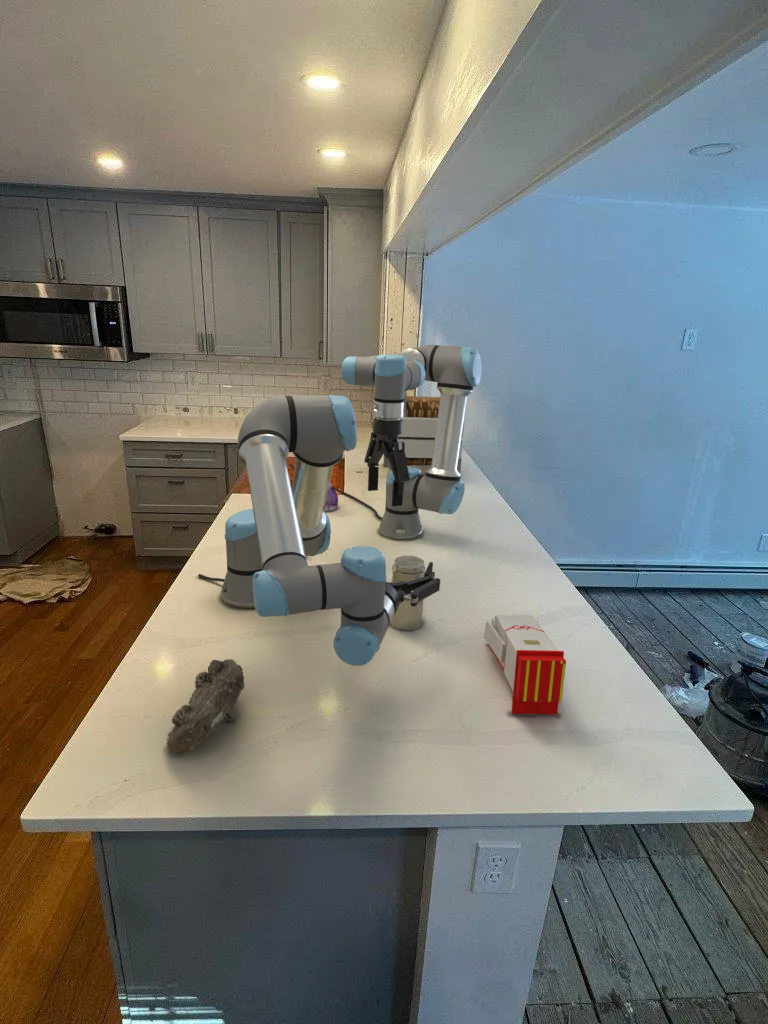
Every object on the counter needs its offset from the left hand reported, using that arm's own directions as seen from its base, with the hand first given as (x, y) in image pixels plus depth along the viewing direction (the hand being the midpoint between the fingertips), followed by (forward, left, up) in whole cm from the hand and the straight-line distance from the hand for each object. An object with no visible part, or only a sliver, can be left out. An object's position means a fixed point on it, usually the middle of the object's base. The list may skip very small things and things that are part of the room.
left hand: (401, 563), depth 128 cm
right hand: (-11, +24, +7) cm, 27 cm away
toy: (+28, -4, -21) cm, 35 cm away
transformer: (-24, +147, -21) cm, 150 cm away
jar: (0, +10, -21) cm, 23 cm away
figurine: (-48, +83, -21) cm, 98 cm away
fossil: (-28, -37, -21) cm, 50 cm away
